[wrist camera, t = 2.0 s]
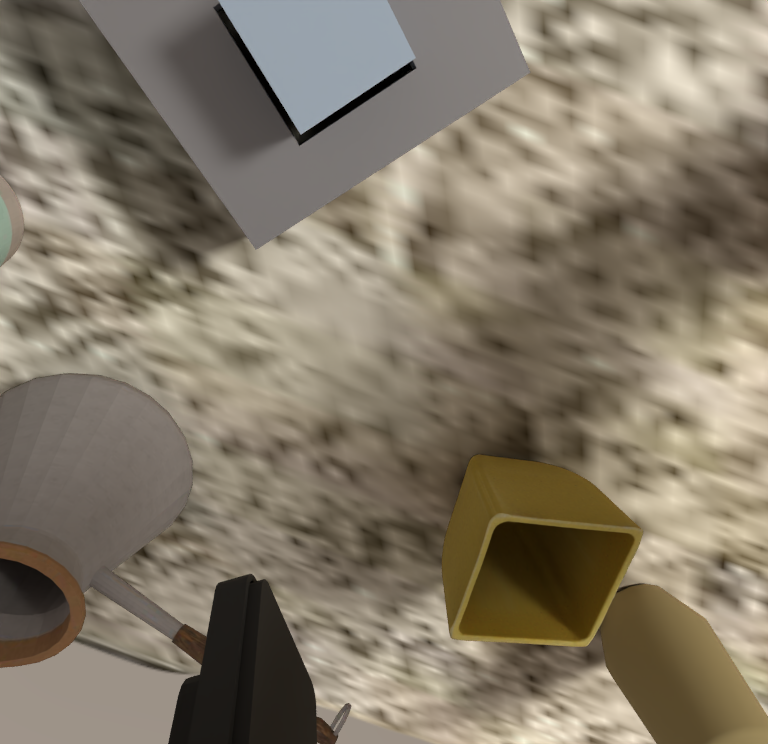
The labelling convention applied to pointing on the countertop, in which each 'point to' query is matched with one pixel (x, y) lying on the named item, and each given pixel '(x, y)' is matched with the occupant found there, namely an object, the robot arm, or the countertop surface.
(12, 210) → the coffee cup
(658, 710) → the squeeze bottle
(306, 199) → the console
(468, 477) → the flower pot
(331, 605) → the countertop surface
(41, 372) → the countertop surface
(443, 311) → the countertop surface
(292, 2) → the key blue
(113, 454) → the coffee pot
